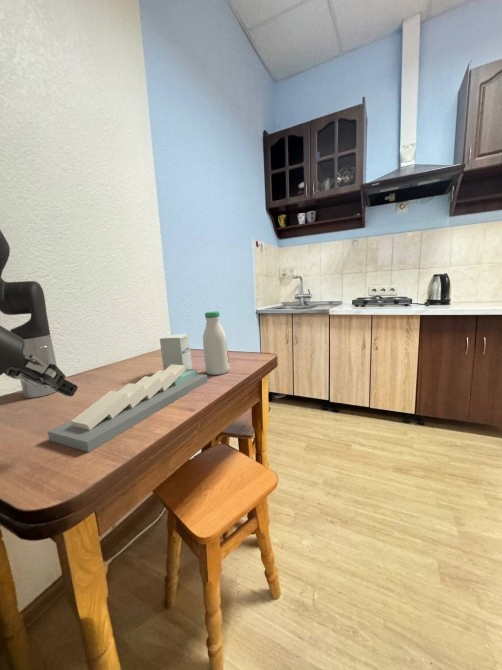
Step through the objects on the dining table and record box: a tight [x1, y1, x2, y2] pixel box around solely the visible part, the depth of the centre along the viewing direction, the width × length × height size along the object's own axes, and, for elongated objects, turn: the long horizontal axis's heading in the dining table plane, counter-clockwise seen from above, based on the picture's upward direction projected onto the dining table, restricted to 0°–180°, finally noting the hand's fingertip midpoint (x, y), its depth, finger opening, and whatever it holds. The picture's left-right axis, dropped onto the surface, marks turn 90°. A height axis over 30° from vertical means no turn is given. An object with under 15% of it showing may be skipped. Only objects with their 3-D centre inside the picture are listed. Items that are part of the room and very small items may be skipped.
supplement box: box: [159, 333, 193, 371], centre depth 95 cm, size 7×7×13 cm
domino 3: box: [127, 375, 161, 408], centre depth 68 cm, size 1×5×10 cm
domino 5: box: [159, 364, 186, 391], centre depth 77 cm, size 1×5×10 cm
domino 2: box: [105, 383, 145, 419], centre depth 63 cm, size 1×5×10 cm
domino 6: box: [171, 368, 198, 386], centre depth 81 cm, size 1×5×10 cm
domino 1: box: [70, 390, 128, 430], centre depth 59 cm, size 1×5×10 cm
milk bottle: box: [202, 311, 230, 376], centre depth 91 cm, size 8×8×20 cm
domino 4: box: [143, 369, 174, 399], centre depth 72 cm, size 1×5×10 cm
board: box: [47, 373, 209, 453], centre depth 69 cm, size 12×38×2 cm, turn 155°
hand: (72, 391), depth 53 cm, fingers closed
